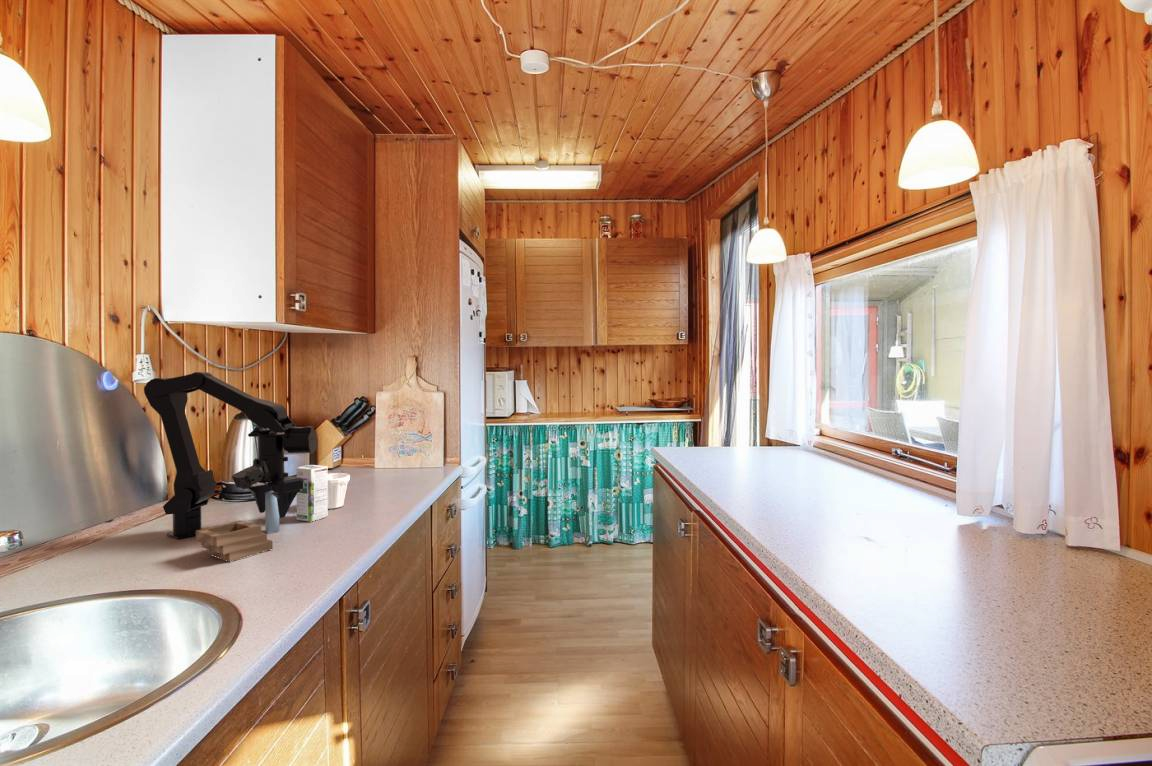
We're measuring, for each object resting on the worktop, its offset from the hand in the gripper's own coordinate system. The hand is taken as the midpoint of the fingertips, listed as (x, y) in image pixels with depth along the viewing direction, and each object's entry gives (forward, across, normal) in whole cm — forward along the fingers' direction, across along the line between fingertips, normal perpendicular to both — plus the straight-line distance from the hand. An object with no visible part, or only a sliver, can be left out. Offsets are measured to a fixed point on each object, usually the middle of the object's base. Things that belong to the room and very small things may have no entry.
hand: (272, 514), depth 130 cm
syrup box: (+4, -2, +12) cm, 13 cm away
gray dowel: (+4, 0, 0) cm, 4 cm away
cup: (+4, -8, +22) cm, 24 cm away
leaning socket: (+4, +9, -13) cm, 17 cm away
